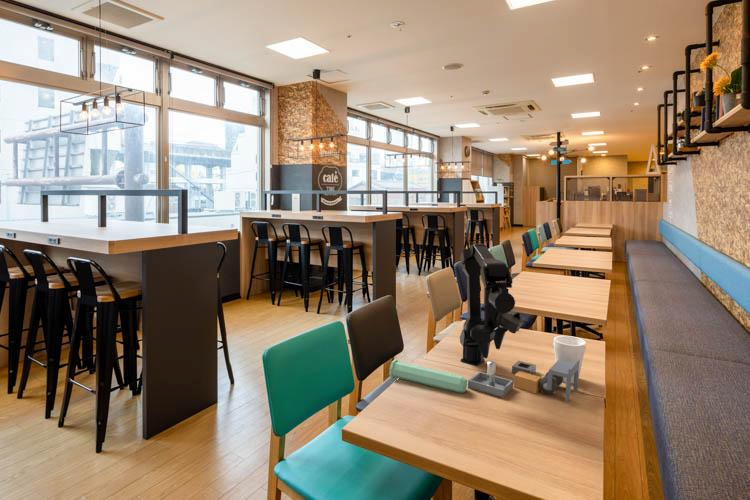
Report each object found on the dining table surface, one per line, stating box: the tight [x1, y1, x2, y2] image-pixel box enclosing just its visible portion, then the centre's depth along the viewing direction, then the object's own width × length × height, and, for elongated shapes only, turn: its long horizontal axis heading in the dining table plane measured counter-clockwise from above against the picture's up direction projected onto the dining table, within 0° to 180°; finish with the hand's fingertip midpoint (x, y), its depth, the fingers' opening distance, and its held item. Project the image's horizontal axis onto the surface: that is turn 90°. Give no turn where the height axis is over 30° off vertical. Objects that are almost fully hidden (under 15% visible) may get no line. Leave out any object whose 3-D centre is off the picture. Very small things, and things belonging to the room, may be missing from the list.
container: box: [388, 359, 468, 394], centre depth 139 cm, size 6×6×25 cm
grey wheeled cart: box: [538, 359, 580, 402], centre depth 133 cm, size 9×10×10 cm
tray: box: [467, 371, 514, 399], centre depth 136 cm, size 11×8×2 cm
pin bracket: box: [511, 360, 537, 375], centre depth 147 cm, size 6×6×2 cm
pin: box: [486, 360, 497, 387], centre depth 135 cm, size 2×2×8 cm
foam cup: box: [553, 335, 587, 384], centre depth 141 cm, size 10×9×13 cm
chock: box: [513, 371, 542, 394], centre depth 136 cm, size 7×4×4 cm, turn 49°
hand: (491, 353), depth 134 cm, fingers open, 9 cm apart
